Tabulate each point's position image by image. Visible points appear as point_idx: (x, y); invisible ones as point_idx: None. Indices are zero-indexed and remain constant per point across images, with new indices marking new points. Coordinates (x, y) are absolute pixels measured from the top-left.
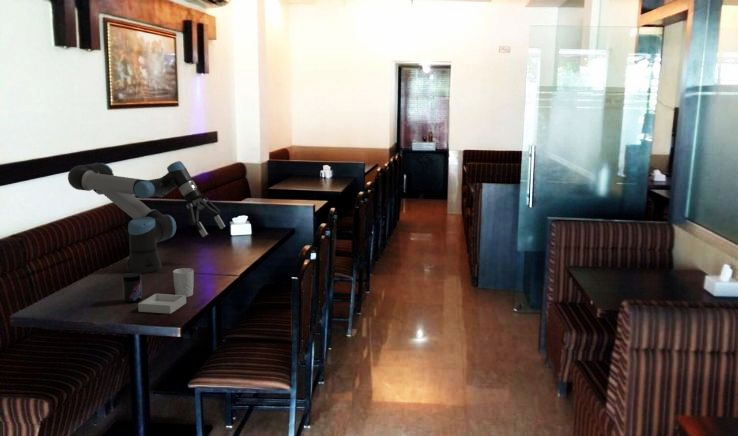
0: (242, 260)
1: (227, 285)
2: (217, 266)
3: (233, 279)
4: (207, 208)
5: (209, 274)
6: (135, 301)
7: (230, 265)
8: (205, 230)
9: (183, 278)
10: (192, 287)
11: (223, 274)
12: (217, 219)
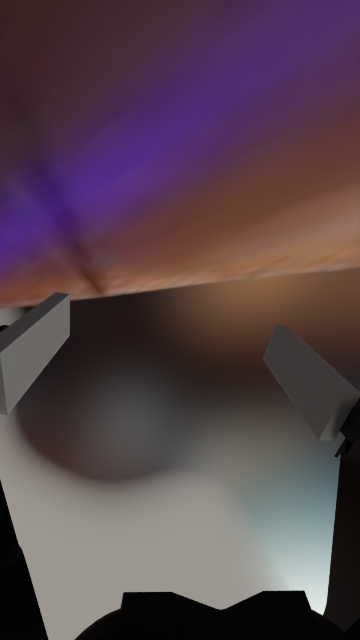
0: (282, 243)
1: (9, 306)
2: (178, 193)
3: None
4: (338, 581)
5: (56, 220)
6: None
7: (204, 234)
8: (56, 351)
9: None
10: None
11: (87, 261)
12: (310, 388)
